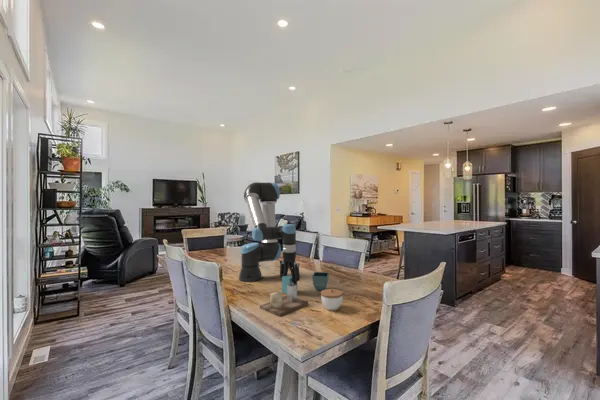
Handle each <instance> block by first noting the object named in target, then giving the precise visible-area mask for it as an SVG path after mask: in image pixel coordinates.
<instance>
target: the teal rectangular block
mask: <svg viewBox="0 0 600 400" xmlns="http://www.w3.org/2000/svg"><path fill="white" fill-rule="evenodd" d="M292 281H293V280H292V275H291V273H290V274H287V275H286V276H283V277H282V278H281V293H282V294H285V295H287V285H289V284H292Z"/></svg>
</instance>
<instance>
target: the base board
mask: <svg viewBox="0 0 600 400" xmlns="http://www.w3.org/2000/svg"><path fill="white" fill-rule="evenodd" d="M307 305H309V301H308V300H305V299H301V298H299V297H297V301H294V302H290V301H287V295H286V296H282V307H281V308H279V309H273V308H271V304H270V301H269V302H267V303H263V304H262V305H259V309H260V308H261V309H260V310H262V309H263V310H262V311H264V310H265V311H264V312H267V311H268V312H267V313H269V312H270V314H271V315H274V314H275V316H277V317H282V316H284V315H286V314H288V313H291V312H294V311H296V310H298V309H300V308H302V307H306V306H307Z"/></svg>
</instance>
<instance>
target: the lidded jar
mask: <svg viewBox="0 0 600 400" xmlns="http://www.w3.org/2000/svg"><path fill="white" fill-rule="evenodd" d="M320 296H321V297H320V298H321V299H320V300H321V303H322V305H323V307H325V310H328V311H336V310H339V308H340V307H341V306H342V303H343V299H344V293H343V291H342V290H339V289H338V288H337V289H335V288H326V289H325V290H320Z"/></svg>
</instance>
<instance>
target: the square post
mask: <svg viewBox="0 0 600 400" xmlns="http://www.w3.org/2000/svg"><path fill="white" fill-rule="evenodd" d="M286 296H287V301H290V302H294V301H297V298H298V284H297V285H295V284H289V285H287V294H286Z"/></svg>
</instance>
